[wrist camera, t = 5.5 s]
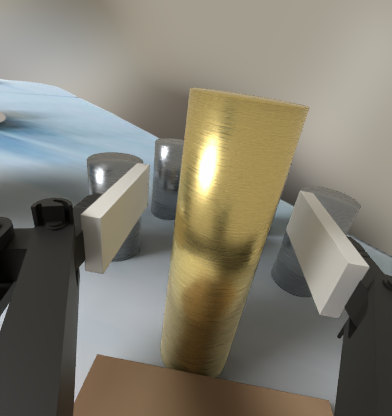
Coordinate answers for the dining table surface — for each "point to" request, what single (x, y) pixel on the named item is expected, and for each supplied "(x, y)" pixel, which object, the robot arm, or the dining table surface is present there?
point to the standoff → (223, 219)
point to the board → (181, 394)
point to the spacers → (168, 194)
